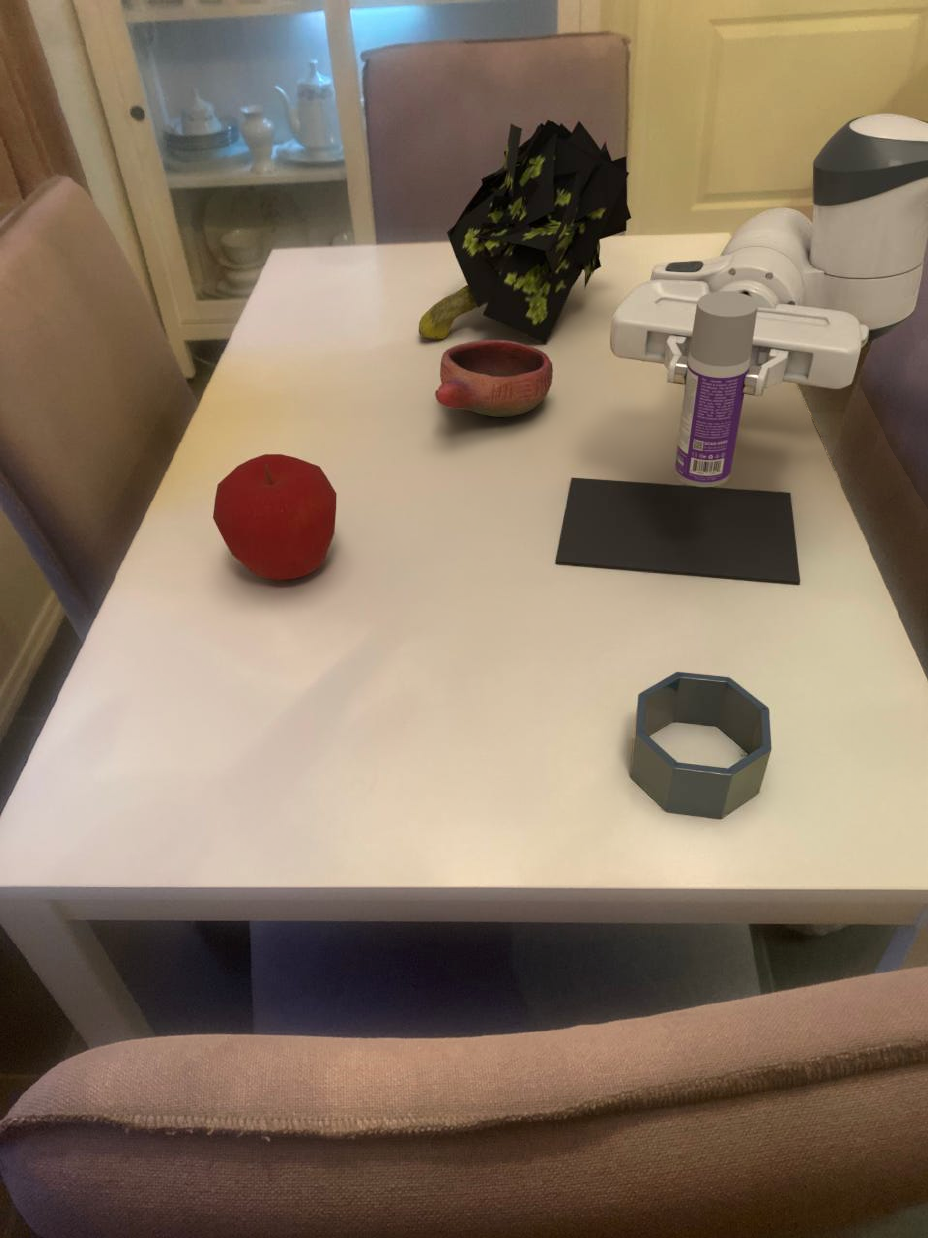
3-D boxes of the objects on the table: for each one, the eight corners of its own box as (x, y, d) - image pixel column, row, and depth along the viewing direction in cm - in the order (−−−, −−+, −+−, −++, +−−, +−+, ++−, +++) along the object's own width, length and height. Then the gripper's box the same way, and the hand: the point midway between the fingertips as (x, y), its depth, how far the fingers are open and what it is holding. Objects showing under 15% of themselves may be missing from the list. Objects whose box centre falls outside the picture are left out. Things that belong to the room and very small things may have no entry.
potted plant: (459, 383, 115) (587, 153, 98) (371, 280, 125) (473, 53, 107) (566, 391, 130) (693, 193, 113) (480, 299, 140) (585, 103, 122)
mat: (789, 495, 92) (790, 492, 92) (799, 585, 82) (800, 581, 82) (571, 480, 96) (571, 477, 96) (555, 564, 86) (555, 560, 86)
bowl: (448, 382, 113) (444, 320, 107) (552, 382, 112) (554, 319, 106) (434, 453, 101) (429, 388, 96) (551, 454, 100) (552, 388, 94)
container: (740, 469, 79) (771, 300, 68) (710, 494, 76) (738, 322, 66) (694, 450, 81) (717, 285, 71) (663, 474, 79) (683, 305, 68)
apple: (225, 610, 83) (194, 505, 75) (237, 538, 91) (210, 437, 83) (346, 599, 84) (327, 493, 76) (347, 529, 91) (331, 427, 84)
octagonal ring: (755, 725, 70) (767, 680, 67) (760, 824, 64) (773, 780, 60) (635, 711, 72) (640, 667, 69) (627, 807, 65) (633, 763, 62)
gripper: (862, 358, 80) (843, 438, 71) (633, 327, 86) (589, 397, 77) (881, 287, 76) (863, 363, 66) (639, 260, 82) (592, 326, 73)
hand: (713, 381), depth 72 cm, fingers closed on container, 4 cm apart
